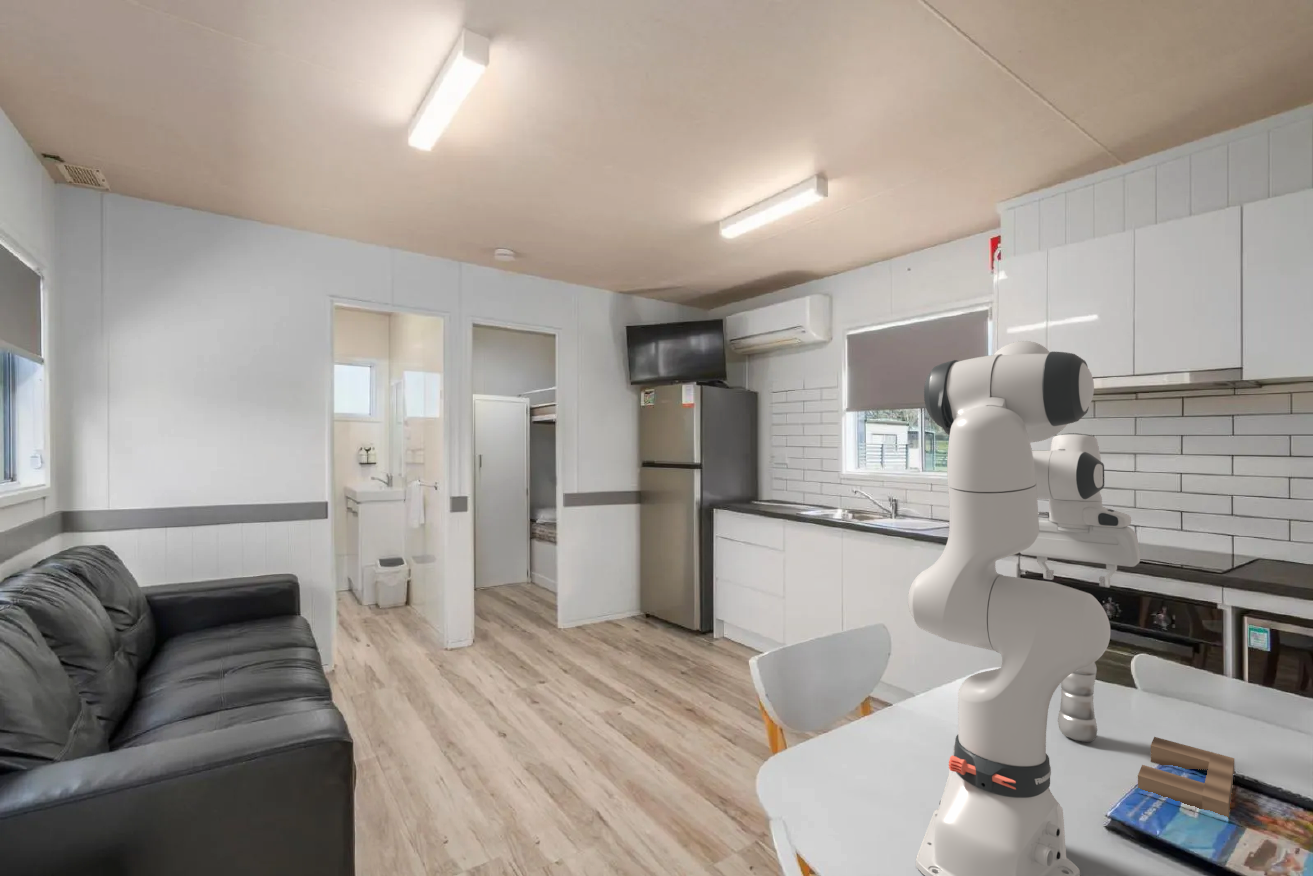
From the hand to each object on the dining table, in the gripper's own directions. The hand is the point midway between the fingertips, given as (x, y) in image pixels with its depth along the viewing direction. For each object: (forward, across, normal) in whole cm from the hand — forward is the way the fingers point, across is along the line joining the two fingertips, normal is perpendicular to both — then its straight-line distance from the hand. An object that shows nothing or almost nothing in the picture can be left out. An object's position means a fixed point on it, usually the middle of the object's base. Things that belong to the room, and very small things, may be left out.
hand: (1075, 582), depth 120 cm
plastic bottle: (+31, 0, 0) cm, 31 cm away
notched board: (+31, +17, -6) cm, 36 cm away
